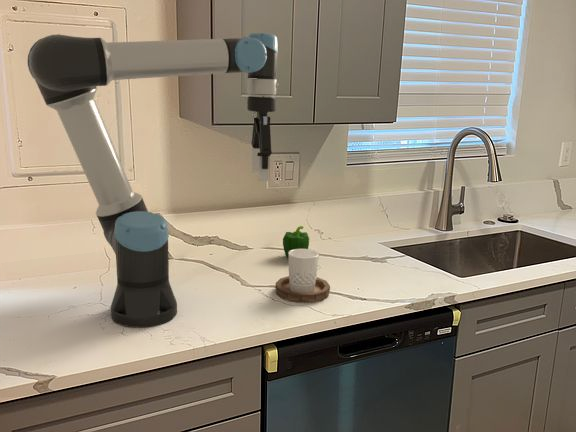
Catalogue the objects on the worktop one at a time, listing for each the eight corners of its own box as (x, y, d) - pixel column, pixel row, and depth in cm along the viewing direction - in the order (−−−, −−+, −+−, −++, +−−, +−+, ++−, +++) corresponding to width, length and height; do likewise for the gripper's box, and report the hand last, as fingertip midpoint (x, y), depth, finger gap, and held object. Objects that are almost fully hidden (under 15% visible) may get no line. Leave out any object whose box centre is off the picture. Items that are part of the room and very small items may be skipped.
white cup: (314, 296, 145) (316, 259, 142) (284, 293, 146) (285, 256, 144) (318, 285, 152) (320, 250, 150) (290, 282, 154) (291, 247, 151)
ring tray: (280, 304, 141) (281, 296, 141) (272, 283, 155) (272, 276, 154) (335, 301, 144) (335, 293, 143) (321, 281, 157) (322, 274, 157)
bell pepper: (291, 263, 171) (292, 232, 169) (278, 255, 178) (279, 225, 175) (314, 260, 175) (316, 229, 173) (301, 252, 182) (302, 222, 180)
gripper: (284, 98, 136) (282, 185, 141) (268, 93, 160) (267, 168, 165) (253, 98, 135) (252, 185, 140) (242, 93, 158) (241, 168, 164)
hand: (260, 176), depth 152 cm, fingers open, 13 cm apart
